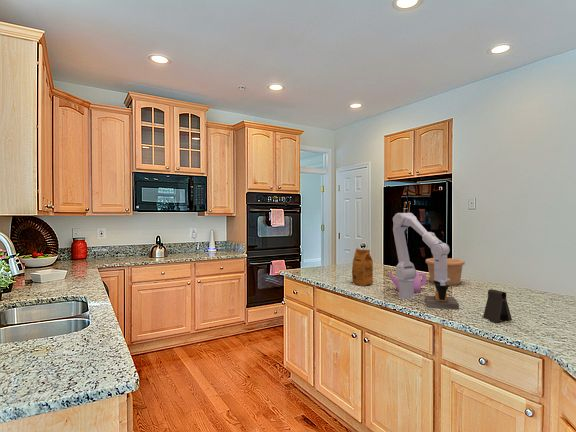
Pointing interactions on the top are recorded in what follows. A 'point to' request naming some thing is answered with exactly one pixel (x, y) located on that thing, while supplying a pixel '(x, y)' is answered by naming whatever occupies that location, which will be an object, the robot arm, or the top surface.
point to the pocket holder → (441, 303)
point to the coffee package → (362, 268)
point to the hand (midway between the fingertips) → (441, 297)
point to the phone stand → (497, 307)
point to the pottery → (448, 270)
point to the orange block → (438, 297)
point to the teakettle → (416, 281)
